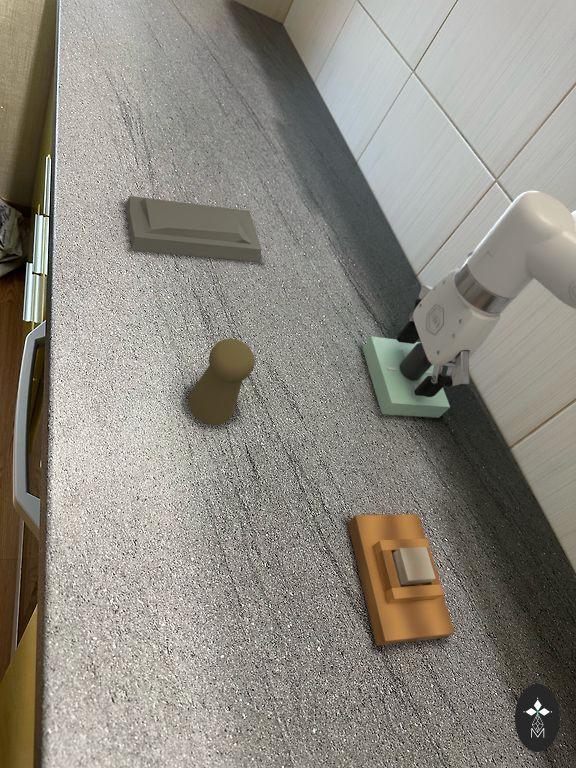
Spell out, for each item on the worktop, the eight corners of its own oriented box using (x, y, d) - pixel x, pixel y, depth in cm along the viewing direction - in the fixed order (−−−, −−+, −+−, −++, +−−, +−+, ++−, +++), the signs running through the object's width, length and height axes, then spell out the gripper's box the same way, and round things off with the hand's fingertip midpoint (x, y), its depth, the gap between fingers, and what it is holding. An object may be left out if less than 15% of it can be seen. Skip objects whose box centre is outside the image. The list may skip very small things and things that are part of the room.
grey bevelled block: (259, 261, 92) (266, 245, 89) (132, 250, 83) (135, 231, 80) (246, 218, 97) (252, 201, 94) (124, 203, 88) (128, 184, 86)
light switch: (409, 520, 73) (426, 508, 70) (444, 637, 65) (464, 629, 62) (347, 522, 69) (362, 509, 66) (375, 646, 62) (393, 637, 59)
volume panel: (416, 354, 92) (426, 342, 90) (439, 417, 86) (451, 406, 83) (362, 348, 88) (371, 335, 86) (381, 414, 82) (392, 402, 79)
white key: (418, 552, 66) (426, 546, 65) (427, 583, 64) (436, 578, 63) (391, 553, 65) (399, 547, 64) (400, 585, 63) (408, 580, 62)
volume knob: (397, 359, 85) (413, 339, 82) (417, 362, 86) (434, 343, 83) (402, 379, 83) (419, 359, 79) (423, 382, 84) (441, 362, 81)
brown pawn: (192, 426, 69) (216, 373, 61) (183, 385, 72) (205, 329, 64) (239, 423, 72) (267, 372, 64) (228, 383, 75) (254, 330, 67)
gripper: (438, 233, 75) (377, 319, 87) (483, 336, 65) (407, 415, 78) (484, 243, 77) (418, 325, 90) (534, 343, 68) (452, 418, 81)
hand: (413, 367), depth 84 cm, fingers open, 9 cm apart
